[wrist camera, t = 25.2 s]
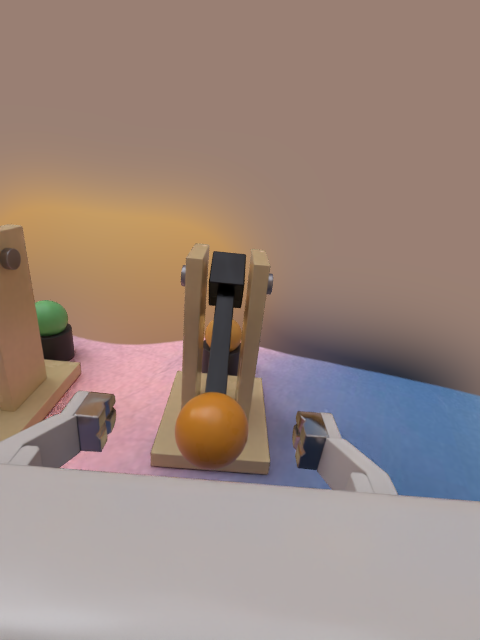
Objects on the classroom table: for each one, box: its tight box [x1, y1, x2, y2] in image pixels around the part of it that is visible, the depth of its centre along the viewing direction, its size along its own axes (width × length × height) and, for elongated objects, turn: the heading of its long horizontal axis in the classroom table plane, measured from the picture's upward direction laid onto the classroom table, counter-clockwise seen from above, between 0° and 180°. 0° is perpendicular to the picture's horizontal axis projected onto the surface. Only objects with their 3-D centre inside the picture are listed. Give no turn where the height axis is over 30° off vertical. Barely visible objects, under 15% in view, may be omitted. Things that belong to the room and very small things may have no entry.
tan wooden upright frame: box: [151, 244, 273, 474], centre depth 24 cm, size 10×8×14 cm
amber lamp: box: [202, 319, 242, 376], centre depth 32 cm, size 4×4×6 cm
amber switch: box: [175, 251, 249, 470], centre depth 19 cm, size 13×4×4 cm
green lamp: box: [35, 300, 74, 361], centre depth 32 cm, size 4×4×6 cm
